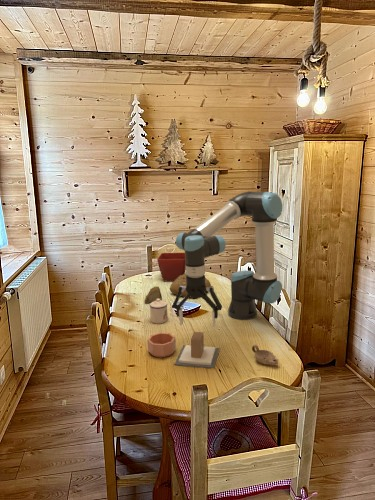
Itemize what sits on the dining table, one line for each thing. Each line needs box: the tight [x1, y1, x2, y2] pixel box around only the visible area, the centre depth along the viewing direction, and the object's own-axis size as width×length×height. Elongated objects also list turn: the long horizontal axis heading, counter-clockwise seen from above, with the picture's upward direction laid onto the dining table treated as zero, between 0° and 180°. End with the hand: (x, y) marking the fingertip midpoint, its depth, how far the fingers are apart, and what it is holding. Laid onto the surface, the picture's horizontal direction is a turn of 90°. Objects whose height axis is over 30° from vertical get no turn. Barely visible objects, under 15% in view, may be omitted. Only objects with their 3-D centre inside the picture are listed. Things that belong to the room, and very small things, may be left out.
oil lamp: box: [251, 344, 279, 366], centre depth 149 cm, size 13×8×5 cm, turn 32°
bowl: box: [147, 332, 177, 358], centre depth 159 cm, size 11×11×6 cm
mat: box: [174, 344, 220, 369], centre depth 154 cm, size 16×16×1 cm
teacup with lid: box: [149, 299, 168, 324], centre depth 192 cm, size 12×9×12 cm
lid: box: [179, 331, 216, 365], centre depth 153 cm, size 13×13×9 cm
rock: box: [144, 285, 163, 304], centre depth 218 cm, size 11×9×10 cm
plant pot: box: [157, 252, 186, 282], centre depth 259 cm, size 19×19×17 cm
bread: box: [169, 273, 212, 299], centre depth 232 cm, size 24×21×12 cm
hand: (197, 324), depth 151 cm, fingers open, 13 cm apart
